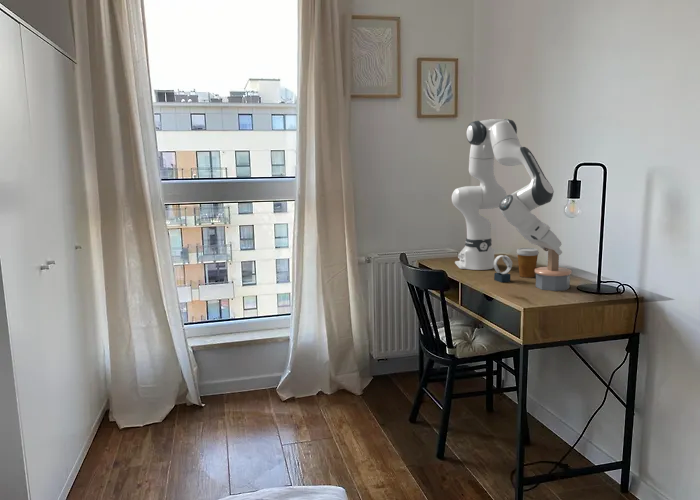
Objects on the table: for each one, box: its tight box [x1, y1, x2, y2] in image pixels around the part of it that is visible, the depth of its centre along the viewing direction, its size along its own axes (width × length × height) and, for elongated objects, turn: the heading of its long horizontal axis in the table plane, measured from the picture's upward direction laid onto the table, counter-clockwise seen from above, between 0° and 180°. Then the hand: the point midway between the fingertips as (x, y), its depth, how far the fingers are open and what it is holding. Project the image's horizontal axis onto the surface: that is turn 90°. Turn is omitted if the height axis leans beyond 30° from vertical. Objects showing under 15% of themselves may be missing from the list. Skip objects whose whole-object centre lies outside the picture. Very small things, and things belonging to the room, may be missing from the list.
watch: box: [493, 254, 513, 284], centre depth 241 cm, size 6×8×11 cm
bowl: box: [535, 273, 571, 292], centre depth 228 cm, size 12×12×6 cm
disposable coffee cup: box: [516, 247, 540, 279], centre depth 249 cm, size 10×10×12 cm
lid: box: [535, 248, 573, 276], centre depth 226 cm, size 14×14×10 cm
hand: (553, 251), depth 226 cm, fingers open, 8 cm apart
